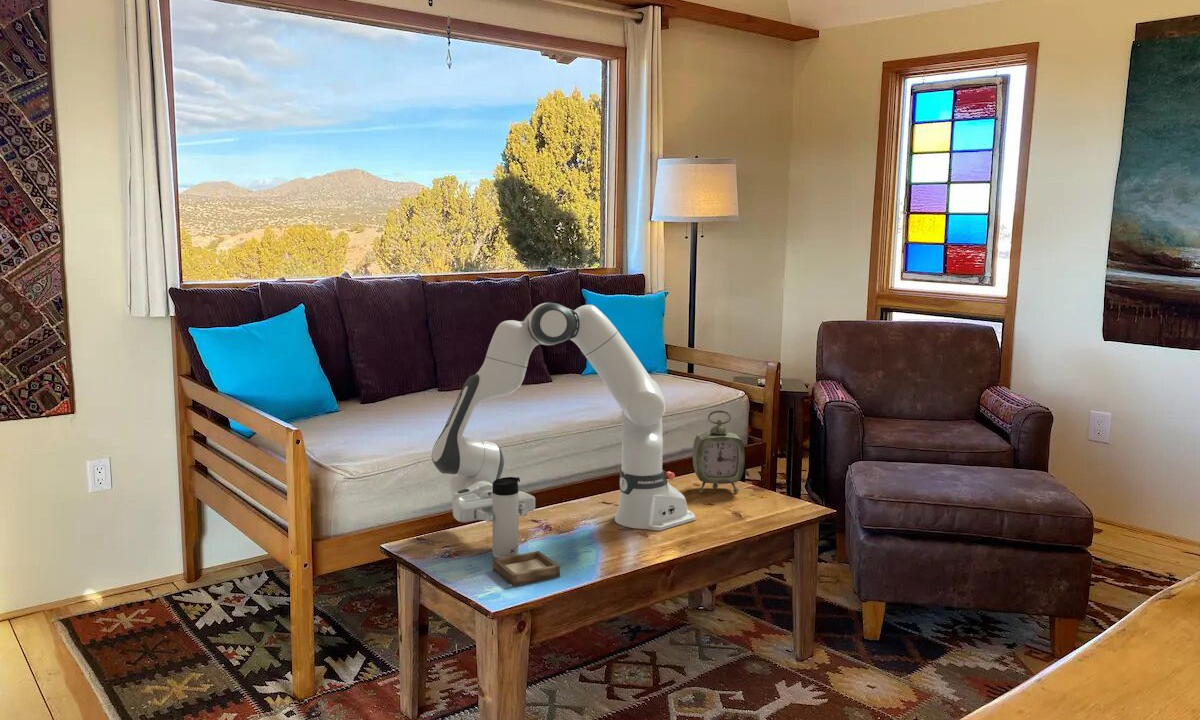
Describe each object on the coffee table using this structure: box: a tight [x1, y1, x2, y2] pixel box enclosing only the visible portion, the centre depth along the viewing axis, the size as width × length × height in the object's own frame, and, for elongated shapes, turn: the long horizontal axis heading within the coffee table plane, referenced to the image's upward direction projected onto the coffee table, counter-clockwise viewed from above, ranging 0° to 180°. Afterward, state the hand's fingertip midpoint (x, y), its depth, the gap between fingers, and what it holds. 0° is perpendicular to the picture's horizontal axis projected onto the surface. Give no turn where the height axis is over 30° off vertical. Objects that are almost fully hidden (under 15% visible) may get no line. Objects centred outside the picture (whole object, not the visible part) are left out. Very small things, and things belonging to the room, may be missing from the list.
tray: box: [492, 550, 561, 587], centre depth 216 cm, size 12×11×3 cm
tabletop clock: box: [692, 410, 746, 494], centre depth 281 cm, size 14×9×25 cm, turn 95°
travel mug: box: [491, 476, 521, 560], centre depth 224 cm, size 6×7×20 cm
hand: (507, 515), depth 223 cm, fingers open, 8 cm apart
